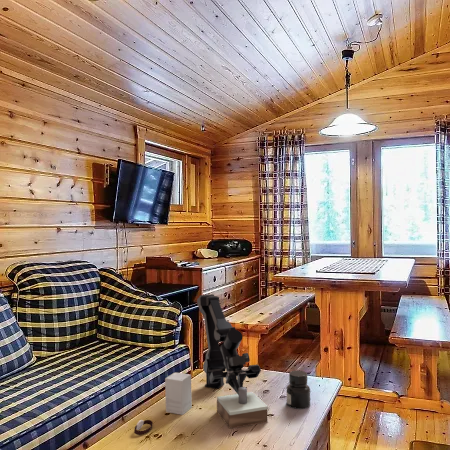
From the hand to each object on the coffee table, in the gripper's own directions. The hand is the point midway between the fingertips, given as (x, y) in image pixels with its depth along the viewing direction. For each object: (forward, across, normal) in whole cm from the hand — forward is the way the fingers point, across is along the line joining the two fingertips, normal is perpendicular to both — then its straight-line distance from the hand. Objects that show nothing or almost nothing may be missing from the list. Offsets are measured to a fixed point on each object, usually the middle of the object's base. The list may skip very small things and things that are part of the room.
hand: (241, 396), depth 163 cm
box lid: (+2, 0, +1) cm, 3 cm away
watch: (+5, -35, +6) cm, 36 cm away
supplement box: (-4, -20, +15) cm, 25 cm away
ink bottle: (+4, +24, +7) cm, 25 cm away
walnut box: (+6, 0, +5) cm, 7 cm away
